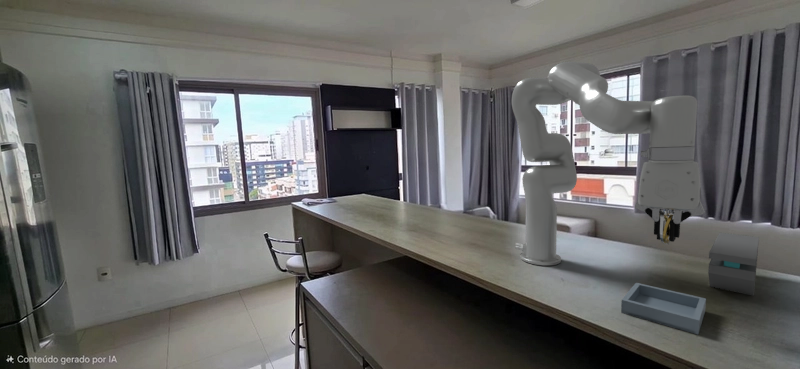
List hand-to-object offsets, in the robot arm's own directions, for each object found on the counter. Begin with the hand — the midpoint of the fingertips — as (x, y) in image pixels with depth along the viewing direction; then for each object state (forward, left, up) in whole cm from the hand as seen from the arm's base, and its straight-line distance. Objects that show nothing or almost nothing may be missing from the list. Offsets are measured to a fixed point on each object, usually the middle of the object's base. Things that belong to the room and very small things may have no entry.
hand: (666, 238), depth 72 cm
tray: (0, 0, -17) cm, 17 cm away
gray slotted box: (+10, +30, -17) cm, 36 cm away
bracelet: (0, 0, -1) cm, 1 cm away
